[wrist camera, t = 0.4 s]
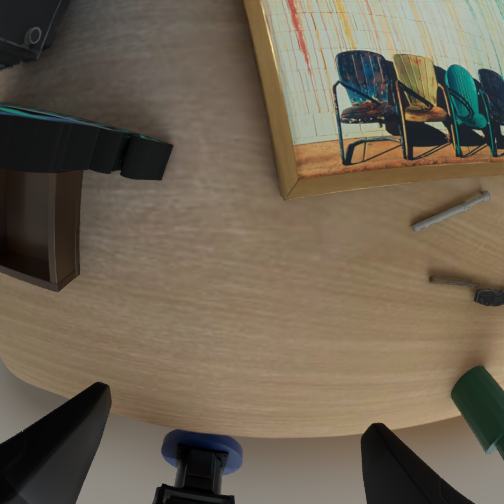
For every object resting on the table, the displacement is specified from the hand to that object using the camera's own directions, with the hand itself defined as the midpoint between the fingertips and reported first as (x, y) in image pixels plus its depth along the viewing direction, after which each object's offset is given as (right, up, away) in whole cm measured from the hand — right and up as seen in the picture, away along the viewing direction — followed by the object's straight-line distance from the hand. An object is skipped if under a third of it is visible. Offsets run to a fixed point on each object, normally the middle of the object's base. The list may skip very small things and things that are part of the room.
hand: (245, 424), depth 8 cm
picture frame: (+14, +26, +6) cm, 30 cm away
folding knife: (+28, +2, +14) cm, 31 cm away
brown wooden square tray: (-18, +9, +11) cm, 23 cm away
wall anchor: (+16, +9, +11) cm, 22 cm away
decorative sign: (-14, +15, +10) cm, 23 cm away
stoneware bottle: (+28, -11, +18) cm, 35 cm away
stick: (+18, +2, +15) cm, 23 cm away
